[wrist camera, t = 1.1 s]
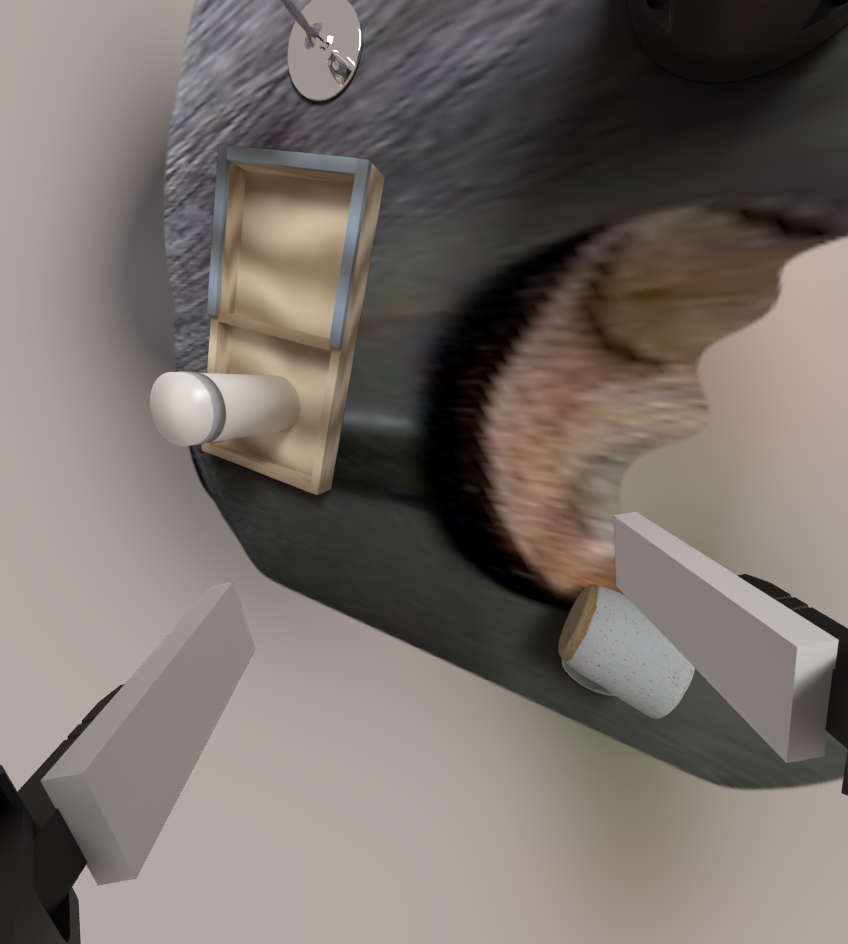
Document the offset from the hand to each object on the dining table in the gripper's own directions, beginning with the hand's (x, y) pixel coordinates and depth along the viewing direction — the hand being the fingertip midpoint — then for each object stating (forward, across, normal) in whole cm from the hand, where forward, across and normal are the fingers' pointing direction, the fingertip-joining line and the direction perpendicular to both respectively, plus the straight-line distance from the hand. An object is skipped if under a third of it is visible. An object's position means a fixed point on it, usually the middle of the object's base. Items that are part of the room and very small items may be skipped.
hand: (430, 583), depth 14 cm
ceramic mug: (+18, +15, -19) cm, 30 cm away
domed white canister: (+33, -14, +6) cm, 36 cm away
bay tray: (+33, -11, +12) cm, 37 cm away
